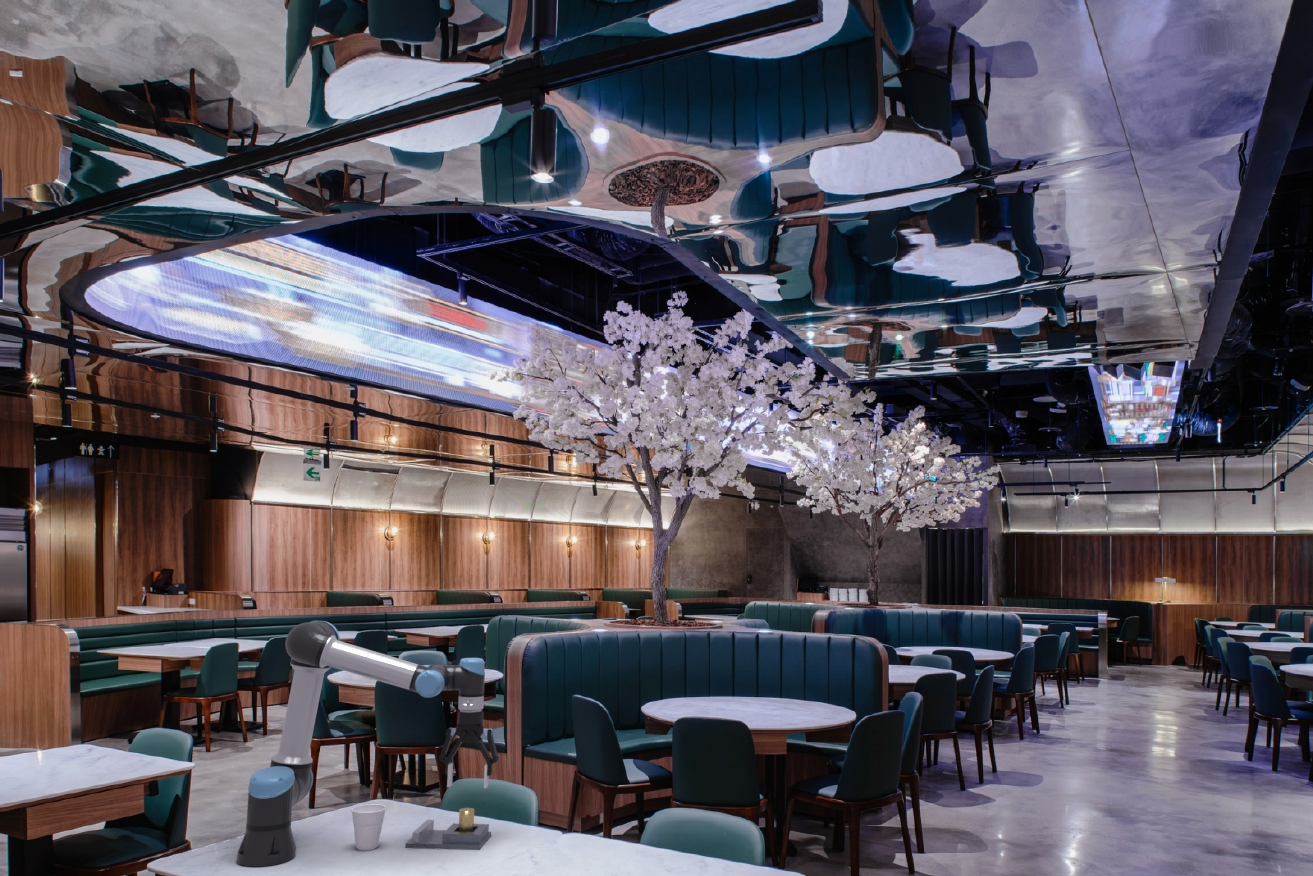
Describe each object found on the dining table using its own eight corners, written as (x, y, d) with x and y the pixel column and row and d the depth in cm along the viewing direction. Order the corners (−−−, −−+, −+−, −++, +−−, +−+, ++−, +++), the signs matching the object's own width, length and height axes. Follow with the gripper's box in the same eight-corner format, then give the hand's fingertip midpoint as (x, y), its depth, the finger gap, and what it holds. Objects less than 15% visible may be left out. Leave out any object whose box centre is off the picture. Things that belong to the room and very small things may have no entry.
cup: (373, 854, 253) (375, 813, 255) (342, 851, 255) (344, 811, 257) (390, 844, 263) (392, 805, 265) (360, 841, 265) (362, 803, 267)
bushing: (456, 839, 264) (457, 811, 265) (460, 835, 268) (461, 807, 269) (471, 840, 263) (472, 811, 265) (474, 836, 268) (475, 808, 269)
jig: (405, 847, 260) (405, 832, 260) (420, 834, 273) (421, 819, 274) (479, 849, 258) (480, 834, 259) (491, 835, 272) (491, 821, 273)
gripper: (429, 711, 268) (426, 788, 265) (505, 713, 267) (502, 790, 264) (437, 707, 276) (434, 782, 272) (510, 709, 274) (508, 784, 271)
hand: (467, 786), depth 268 cm, fingers open, 10 cm apart
